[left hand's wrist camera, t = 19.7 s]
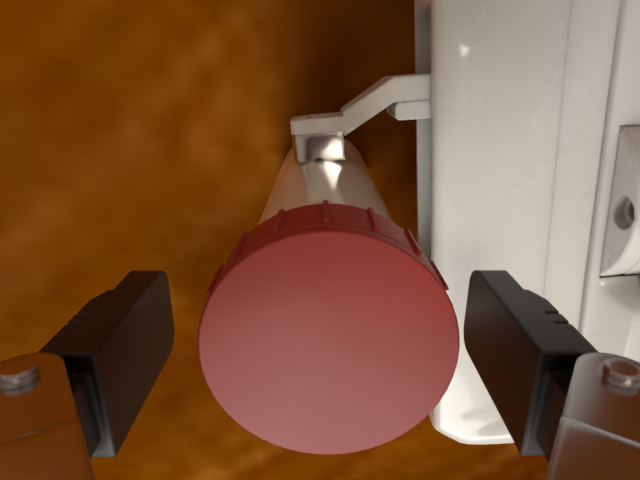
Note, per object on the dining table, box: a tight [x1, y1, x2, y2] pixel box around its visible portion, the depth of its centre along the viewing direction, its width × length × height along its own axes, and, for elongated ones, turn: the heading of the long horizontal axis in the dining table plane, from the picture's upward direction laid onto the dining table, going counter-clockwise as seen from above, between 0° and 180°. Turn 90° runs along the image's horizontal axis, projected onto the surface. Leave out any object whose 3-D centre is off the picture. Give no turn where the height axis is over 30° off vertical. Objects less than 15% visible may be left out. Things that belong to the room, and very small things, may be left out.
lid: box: [198, 200, 460, 454], centre depth 9 cm, size 5×5×2 cm
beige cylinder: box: [258, 139, 393, 225], centre depth 16 cm, size 4×4×15 cm
